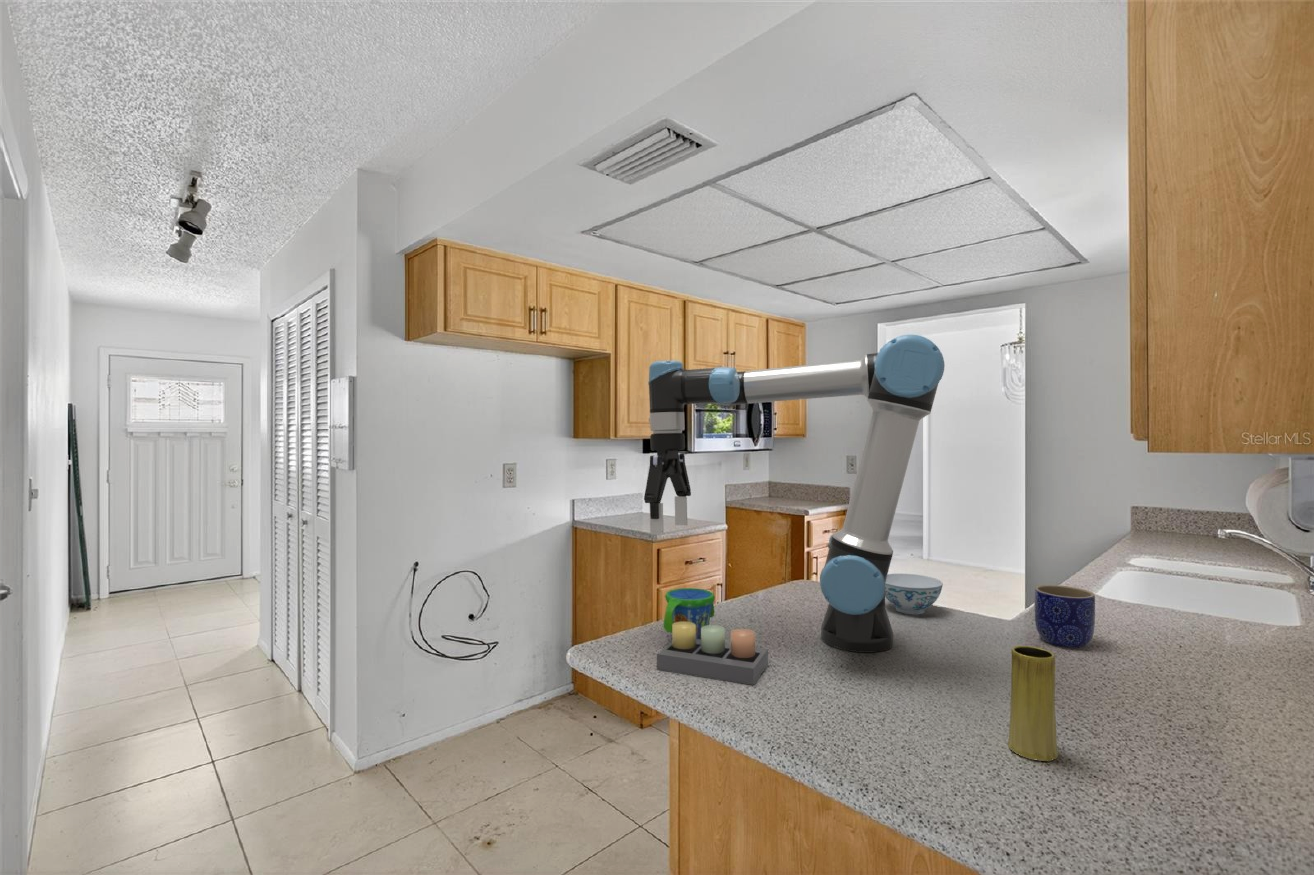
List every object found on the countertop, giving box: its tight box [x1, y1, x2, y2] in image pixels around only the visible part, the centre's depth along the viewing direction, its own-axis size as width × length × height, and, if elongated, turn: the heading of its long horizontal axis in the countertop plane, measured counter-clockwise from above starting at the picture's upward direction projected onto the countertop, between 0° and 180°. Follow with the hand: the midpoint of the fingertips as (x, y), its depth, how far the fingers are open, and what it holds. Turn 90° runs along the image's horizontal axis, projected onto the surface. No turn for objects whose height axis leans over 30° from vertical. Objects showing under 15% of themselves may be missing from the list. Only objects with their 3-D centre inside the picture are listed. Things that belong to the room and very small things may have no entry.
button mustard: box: [671, 621, 696, 649], centre depth 124 cm, size 5×5×4 cm
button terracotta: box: [730, 628, 756, 658], centre depth 119 cm, size 5×5×4 cm
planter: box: [1033, 584, 1096, 649], centre depth 134 cm, size 11×11×11 cm
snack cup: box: [663, 587, 716, 640], centre depth 137 cm, size 16×10×10 cm
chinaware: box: [885, 573, 943, 615], centre depth 159 cm, size 15×15×8 cm
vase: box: [1007, 645, 1059, 762], centre depth 89 cm, size 6×6×14 cm
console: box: [656, 639, 769, 686], centre depth 121 cm, size 19×11×3 cm, turn 66°
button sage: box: [701, 624, 726, 654], centre depth 121 cm, size 5×5×4 cm
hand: (669, 529), depth 137 cm, fingers open, 13 cm apart
